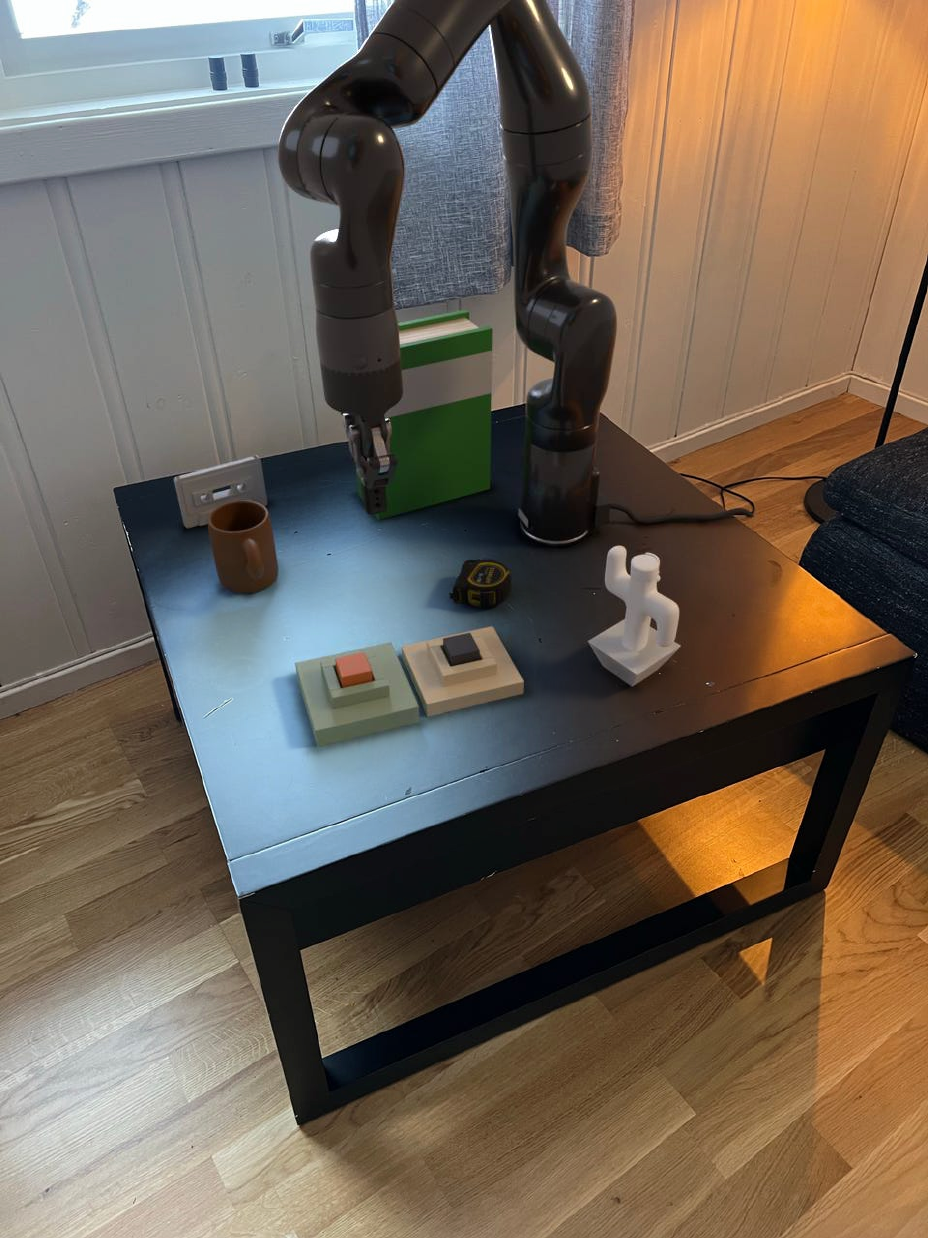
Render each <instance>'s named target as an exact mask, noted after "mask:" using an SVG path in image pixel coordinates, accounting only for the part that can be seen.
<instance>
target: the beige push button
mask: <svg viewBox="0 0 928 1238" xmlns="http://www.w3.org/2000/svg"><path fill="white" fill-rule="evenodd" d="M466 633H471V635H472V637H473V639H474V641H475V643H476V644H477V646H478V648H479V650H480V660H478V661H474V662H470V663H465V664H461V665H457V666H451V664H450V662H449V660H448V658H447V656H446V654H445V652H444V650H443V638H448V637H452V636H457V635H461V634H466ZM400 648H401V659H402V662H403V664H404V666H405V668H406V671H407V673H408V675H409V678H410V680H411V682H412V685H413V687H414V690H415V691H416V695H417V696H418V699H419V701H420V703H421V705H422V708H423V710H424V713H425V714H426V717H431V716H436V715H441V714H444V713H449V712H453V711H456V710H461V709H464V708H470V707H473V706H477V705H481V704H486V703H490V702H494V701H498V700H502V699H506V698H510V697H515V696H519V695H523V694H524V687H525V681H524V678H523V677H522V676H521V674H520V672H519V671H518V668H517V667H516V665H515V663H514V661H513V660H512V657H511V656H510V654H509V653H508V650H507V649H506V647H505V646H504V644H503V642H502V641H501V639H500V637H499V635H498V633H497V631H496V629H495V628H494V626H493V625H491V626H486V627H481V628H477V629H472V630H468V631H464V632H460V633H455V634H450V635H445V636H441V637H437V638H432V639H427V640H422V641H418V642H413V643H409V644H404V645H401V646H400Z"/></svg>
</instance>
